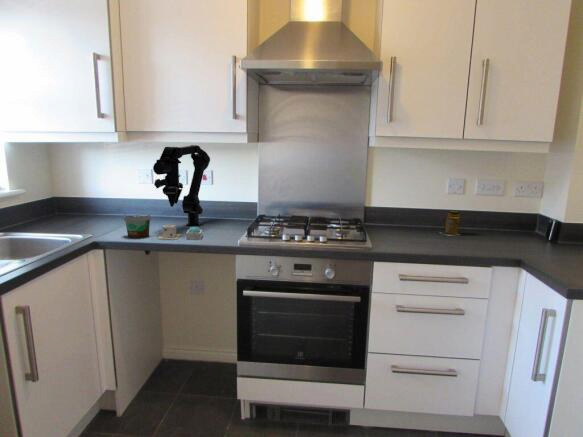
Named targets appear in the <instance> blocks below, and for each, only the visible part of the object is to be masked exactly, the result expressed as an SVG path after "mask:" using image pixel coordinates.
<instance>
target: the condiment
mask: <svg viewBox="0 0 583 437" xmlns="http://www.w3.org/2000/svg"><path fill="white" fill-rule="evenodd" d="M445 222H446V224H445V230H444V231H442V232H441V231H439V232H438V233H439V234H441V235H445V236H448V237H449V236H450V237H453V236H461V235H462V234H461V233H459V225H460V212H459V211H458V210H448V213H447V216H446V220H445Z"/></svg>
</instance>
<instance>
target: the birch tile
mask: <svg viewBox="0 0 583 437" xmlns="http://www.w3.org/2000/svg"><path fill="white" fill-rule="evenodd" d="M181 236H182V233H176V236H175V237H174V238H163V233H162V234H160V236H159V237H158V238H157V240H179V239H180V237H181Z"/></svg>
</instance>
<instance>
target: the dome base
mask: <svg viewBox="0 0 583 437" xmlns="http://www.w3.org/2000/svg"><path fill="white" fill-rule="evenodd" d="M185 234H186V236H185V238H186V240H201V239H202V238H203V229H199V233H189V229H187V231H186V233H185Z"/></svg>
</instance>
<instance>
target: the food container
mask: <svg viewBox="0 0 583 437" xmlns="http://www.w3.org/2000/svg"><path fill="white" fill-rule="evenodd" d="M151 220H152V217H151V215H150V214H148V215H143V216H142V215H130V216H129V215H126V214H124V216H123V221H124V222H125V227H126V231H127V232H126V233H127V237H128V238H129V239H141V238H142V239H143V238H148V237H149V236H150V225H151V224H150V223H151Z"/></svg>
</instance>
